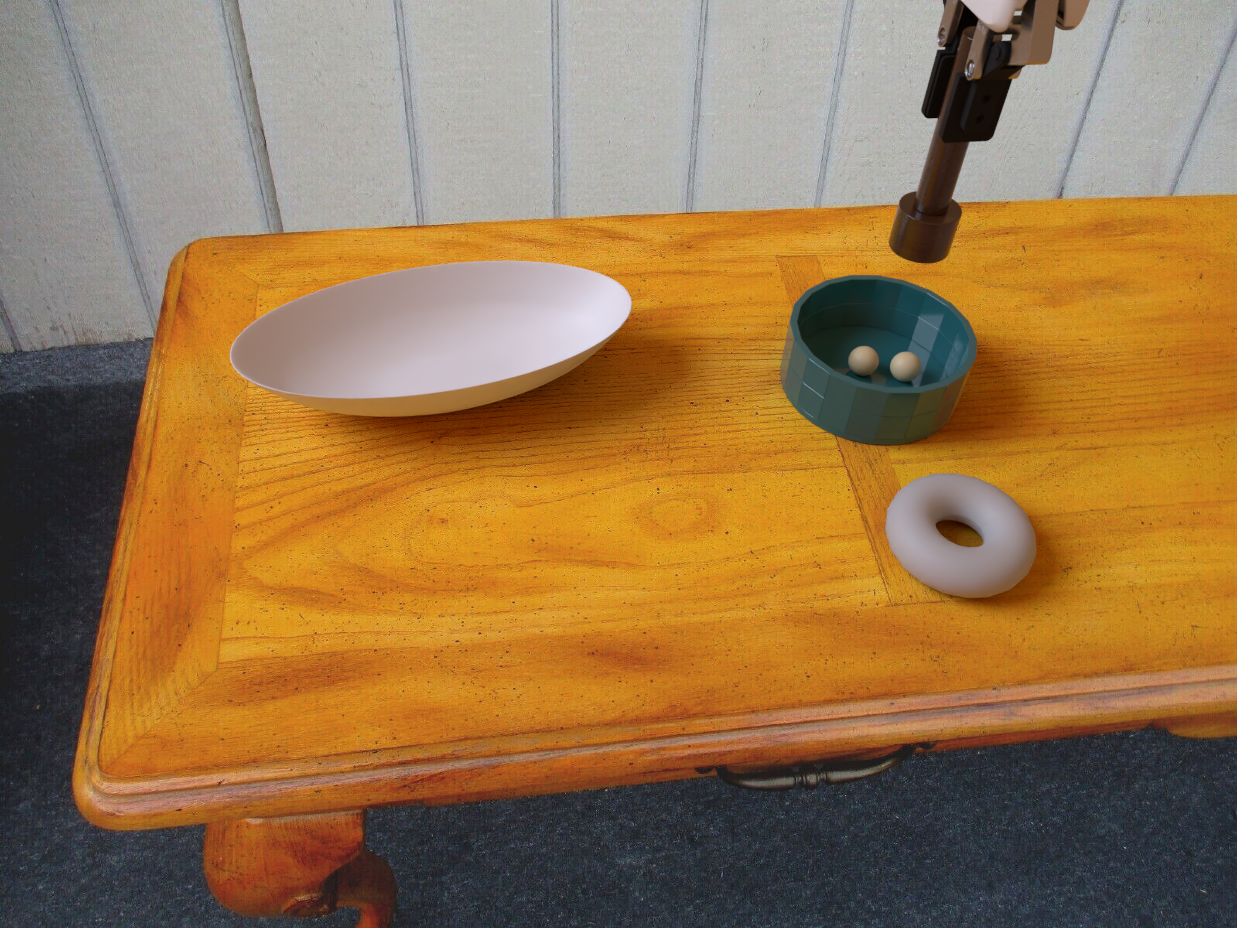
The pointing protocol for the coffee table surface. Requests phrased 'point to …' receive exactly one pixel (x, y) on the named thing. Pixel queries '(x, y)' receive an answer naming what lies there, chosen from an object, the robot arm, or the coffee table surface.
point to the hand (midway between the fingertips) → (955, 125)
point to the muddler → (934, 187)
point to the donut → (947, 562)
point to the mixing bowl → (890, 326)
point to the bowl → (432, 337)
